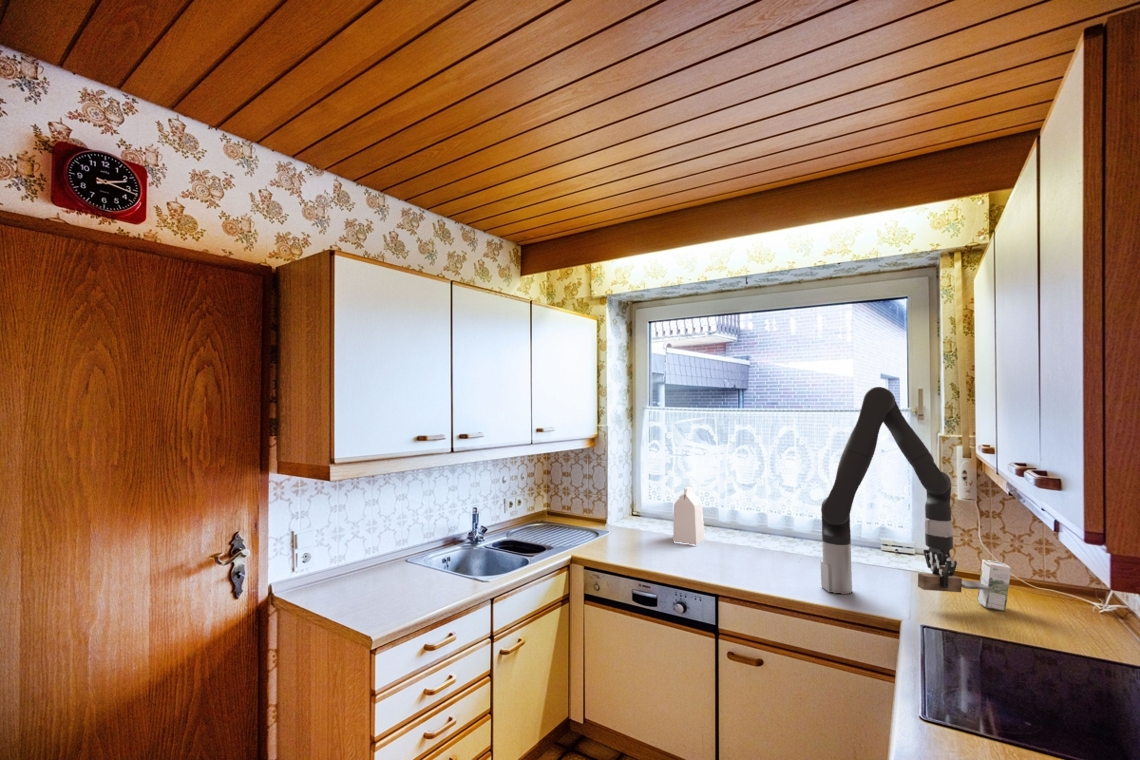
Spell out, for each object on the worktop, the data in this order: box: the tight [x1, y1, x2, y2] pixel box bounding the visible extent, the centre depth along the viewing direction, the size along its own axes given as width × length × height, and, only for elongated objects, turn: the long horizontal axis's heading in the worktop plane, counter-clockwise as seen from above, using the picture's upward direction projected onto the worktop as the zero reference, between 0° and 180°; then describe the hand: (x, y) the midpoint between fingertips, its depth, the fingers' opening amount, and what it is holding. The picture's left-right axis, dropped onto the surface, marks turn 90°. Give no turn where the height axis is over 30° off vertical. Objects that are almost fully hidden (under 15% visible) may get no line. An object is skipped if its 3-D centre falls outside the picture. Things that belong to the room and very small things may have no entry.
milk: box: [672, 486, 706, 545], centre depth 256 cm, size 12×12×26 cm
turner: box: [917, 572, 991, 593], centre depth 174 cm, size 20×6×4 cm, turn 87°
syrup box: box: [977, 558, 1012, 612], centre depth 173 cm, size 6×6×14 cm
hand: (940, 585), depth 174 cm, fingers closed on turner, 3 cm apart
